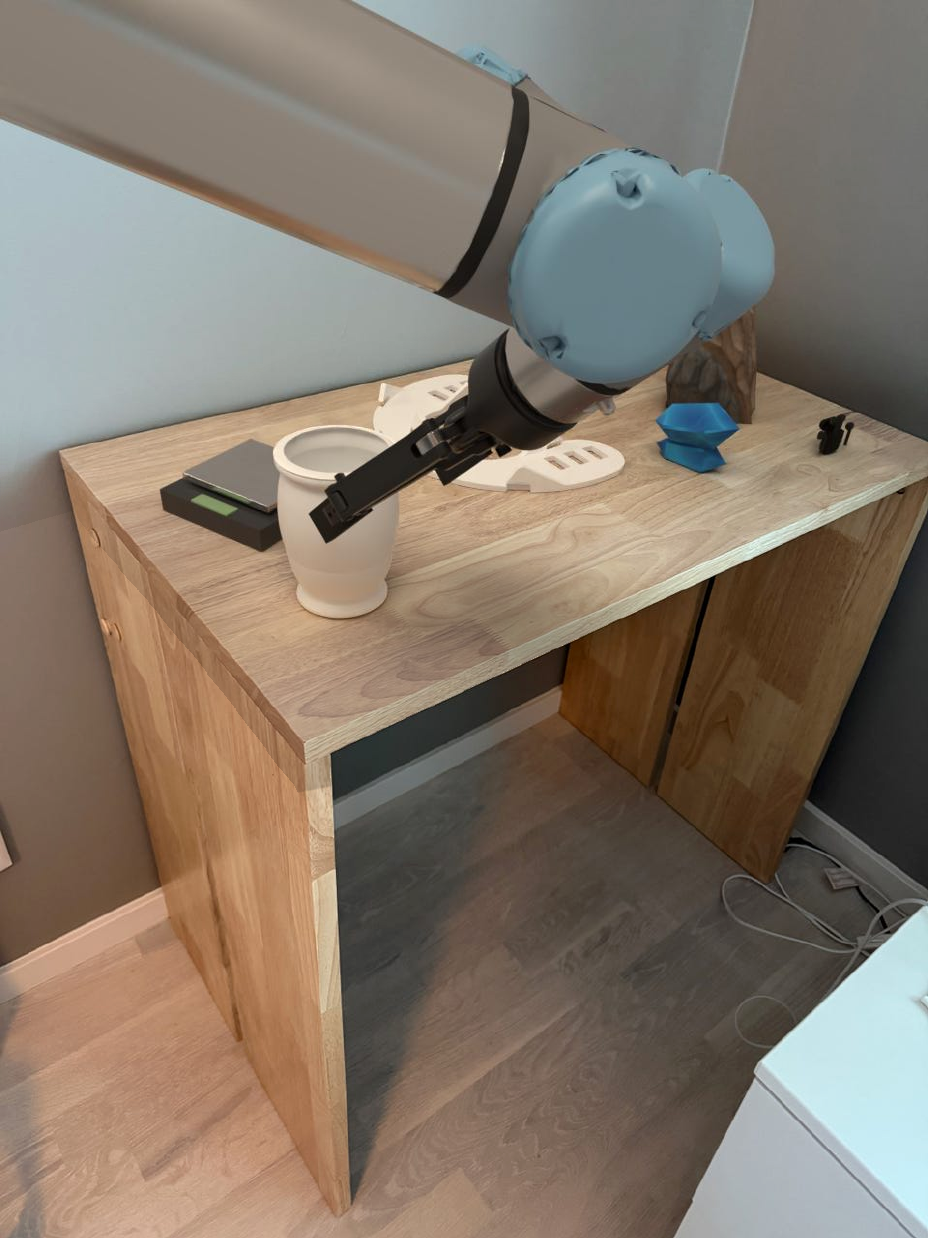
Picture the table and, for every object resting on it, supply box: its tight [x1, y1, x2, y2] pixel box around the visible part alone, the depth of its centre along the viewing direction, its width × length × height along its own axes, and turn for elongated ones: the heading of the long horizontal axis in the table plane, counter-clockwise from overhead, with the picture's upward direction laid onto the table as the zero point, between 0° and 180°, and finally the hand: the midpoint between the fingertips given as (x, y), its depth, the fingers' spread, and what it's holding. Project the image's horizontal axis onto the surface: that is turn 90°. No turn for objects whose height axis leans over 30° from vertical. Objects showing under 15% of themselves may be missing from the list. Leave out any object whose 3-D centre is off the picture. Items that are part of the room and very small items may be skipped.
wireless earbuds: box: [816, 413, 855, 455], centre depth 112 cm, size 7×2×5 cm, turn 123°
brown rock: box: [664, 304, 758, 425], centre depth 118 cm, size 13×13×20 cm
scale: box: [159, 477, 283, 553], centre depth 95 cm, size 14×14×3 cm
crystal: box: [654, 403, 741, 474], centre depth 106 cm, size 7×9×12 cm
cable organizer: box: [372, 374, 626, 494], centre depth 111 cm, size 35×24×3 cm
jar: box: [273, 424, 400, 619], centre depth 78 cm, size 11×10×15 cm
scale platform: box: [181, 438, 281, 513], centre depth 94 cm, size 12×10×1 cm
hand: (382, 497), depth 73 cm, fingers open, 13 cm apart
